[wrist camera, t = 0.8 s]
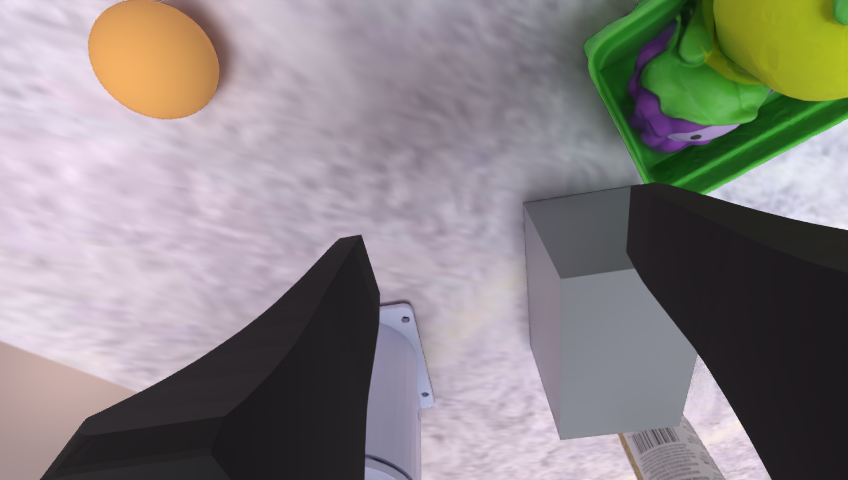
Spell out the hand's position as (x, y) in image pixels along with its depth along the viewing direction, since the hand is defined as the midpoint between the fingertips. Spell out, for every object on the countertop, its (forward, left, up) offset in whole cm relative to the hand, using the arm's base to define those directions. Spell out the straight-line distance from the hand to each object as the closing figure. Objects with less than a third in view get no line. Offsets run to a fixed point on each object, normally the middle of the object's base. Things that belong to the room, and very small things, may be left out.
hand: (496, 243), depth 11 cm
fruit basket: (+3, -10, -10) cm, 15 cm away
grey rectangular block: (-10, -6, -10) cm, 15 cm away
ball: (+5, +11, -8) cm, 15 cm away
